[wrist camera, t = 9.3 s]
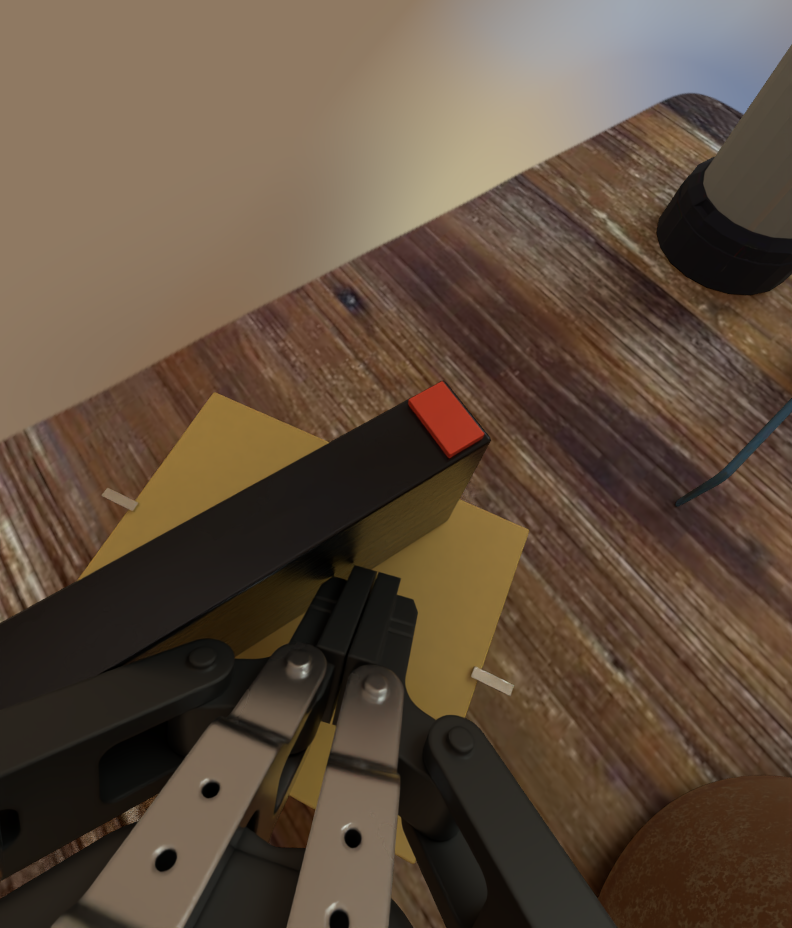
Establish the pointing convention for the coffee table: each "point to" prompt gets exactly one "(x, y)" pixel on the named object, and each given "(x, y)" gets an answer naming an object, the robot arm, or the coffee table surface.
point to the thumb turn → (254, 550)
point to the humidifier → (739, 201)
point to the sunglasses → (740, 455)
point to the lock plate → (418, 565)
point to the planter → (709, 860)
